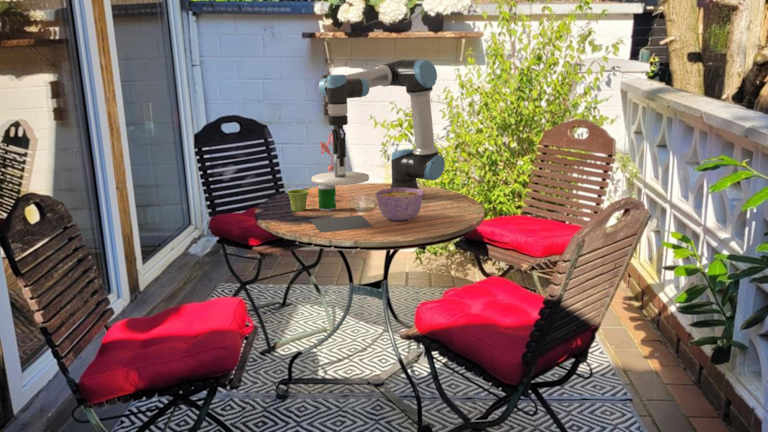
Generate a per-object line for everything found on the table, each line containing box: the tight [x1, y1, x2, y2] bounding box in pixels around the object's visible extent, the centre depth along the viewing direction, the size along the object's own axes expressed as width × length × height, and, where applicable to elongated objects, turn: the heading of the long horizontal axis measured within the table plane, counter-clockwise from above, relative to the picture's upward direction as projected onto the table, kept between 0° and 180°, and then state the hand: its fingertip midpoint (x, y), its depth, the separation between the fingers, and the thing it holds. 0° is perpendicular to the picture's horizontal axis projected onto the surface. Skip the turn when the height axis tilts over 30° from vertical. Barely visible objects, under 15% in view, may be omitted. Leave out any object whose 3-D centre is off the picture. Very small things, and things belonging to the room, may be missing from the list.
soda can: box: [317, 184, 337, 212], centre depth 313 cm, size 8×8×12 cm
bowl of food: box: [375, 188, 424, 222], centre depth 295 cm, size 20×20×12 cm
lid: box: [311, 154, 370, 186], centre depth 284 cm, size 23×23×10 cm
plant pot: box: [286, 189, 309, 213], centre depth 315 cm, size 9×9×9 cm
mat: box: [309, 214, 375, 233], centre depth 290 cm, size 22×22×1 cm
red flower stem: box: [319, 132, 348, 196], centre depth 336 cm, size 15×26×35 cm, turn 179°
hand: (340, 173), depth 285 cm, fingers closed on lid, 4 cm apart
